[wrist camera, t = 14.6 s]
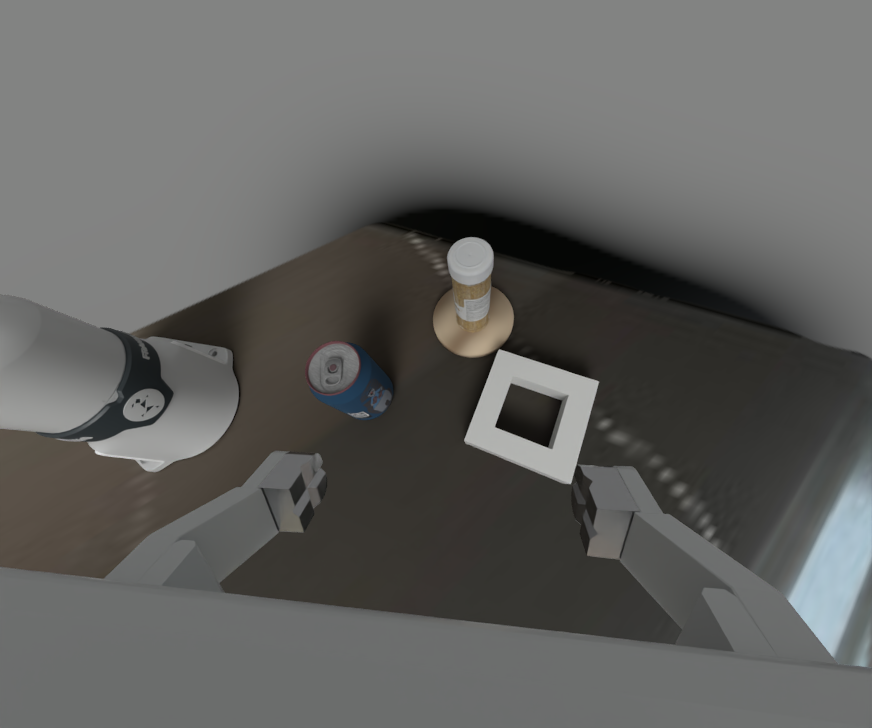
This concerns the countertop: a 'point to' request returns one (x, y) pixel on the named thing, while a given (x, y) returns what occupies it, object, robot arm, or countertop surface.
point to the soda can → (348, 380)
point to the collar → (568, 426)
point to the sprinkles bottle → (471, 282)
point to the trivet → (477, 341)
